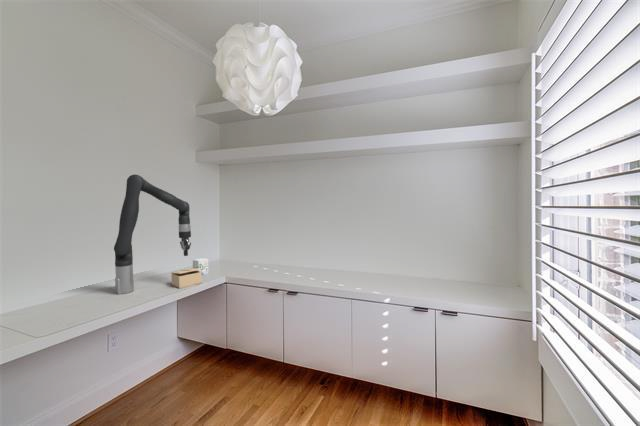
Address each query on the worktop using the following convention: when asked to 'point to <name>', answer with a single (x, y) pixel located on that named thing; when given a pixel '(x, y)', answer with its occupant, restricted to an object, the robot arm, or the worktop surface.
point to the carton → (186, 279)
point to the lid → (186, 271)
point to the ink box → (201, 265)
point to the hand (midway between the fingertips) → (185, 255)
